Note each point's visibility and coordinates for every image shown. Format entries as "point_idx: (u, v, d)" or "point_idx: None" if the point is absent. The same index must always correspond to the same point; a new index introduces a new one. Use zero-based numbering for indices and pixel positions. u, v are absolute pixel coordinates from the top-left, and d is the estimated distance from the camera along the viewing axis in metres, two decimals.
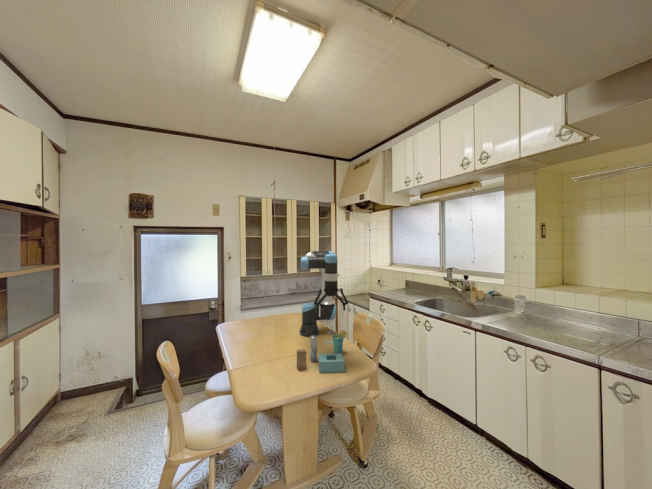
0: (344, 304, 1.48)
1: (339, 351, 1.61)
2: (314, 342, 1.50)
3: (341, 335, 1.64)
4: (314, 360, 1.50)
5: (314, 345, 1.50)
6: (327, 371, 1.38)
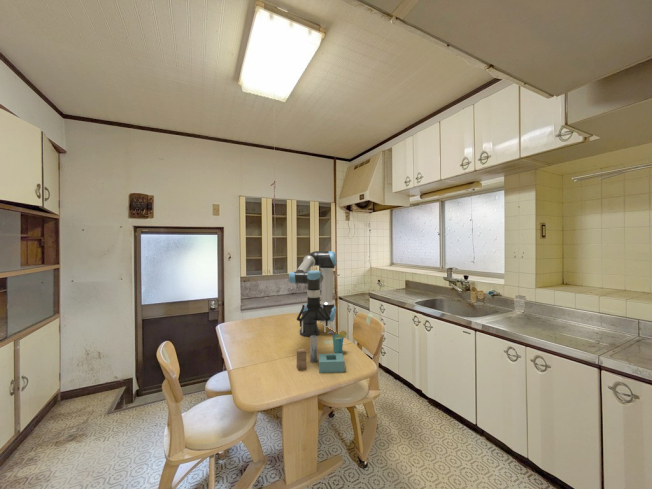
0: (326, 320, 1.50)
1: (339, 351, 1.61)
2: (314, 342, 1.50)
3: (341, 335, 1.64)
4: (314, 360, 1.50)
5: (314, 345, 1.50)
6: (327, 371, 1.38)
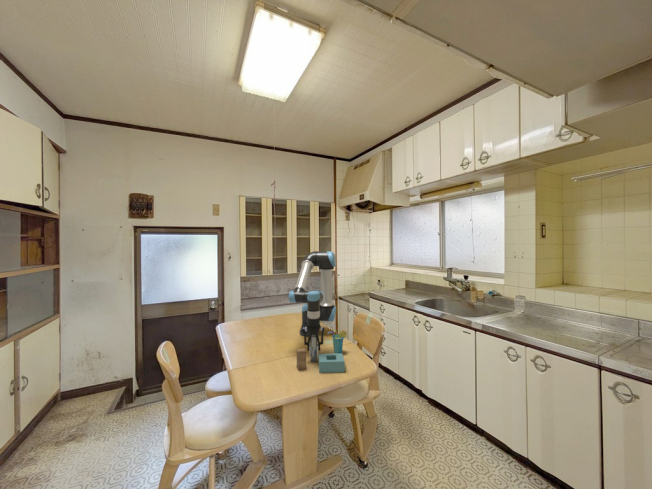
0: (319, 345, 1.50)
1: (339, 351, 1.61)
2: (314, 342, 1.50)
3: (341, 335, 1.64)
4: (314, 360, 1.50)
5: (315, 345, 1.50)
6: (327, 371, 1.38)
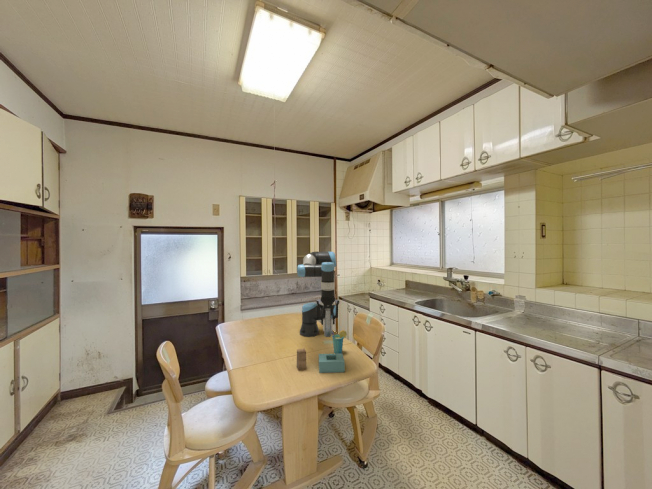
0: (333, 318, 1.43)
1: (339, 351, 1.61)
2: (328, 315, 1.42)
3: (341, 335, 1.64)
4: (328, 334, 1.42)
5: (329, 318, 1.42)
6: (327, 371, 1.38)
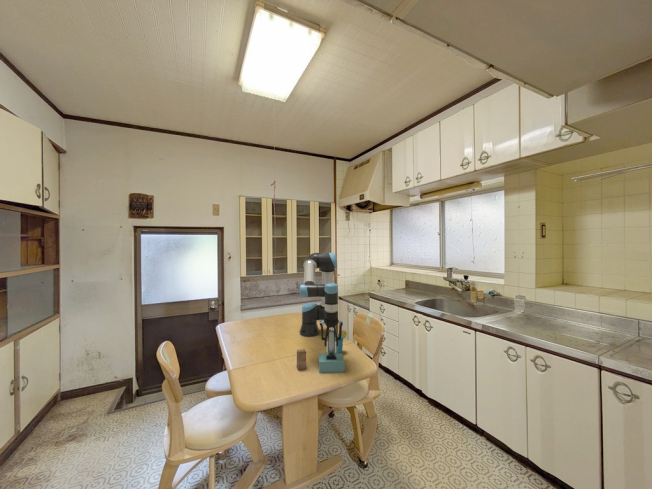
0: (337, 340, 1.42)
1: (339, 351, 1.61)
2: (332, 337, 1.41)
3: (341, 335, 1.64)
4: (332, 356, 1.41)
5: (332, 340, 1.41)
6: (327, 371, 1.38)
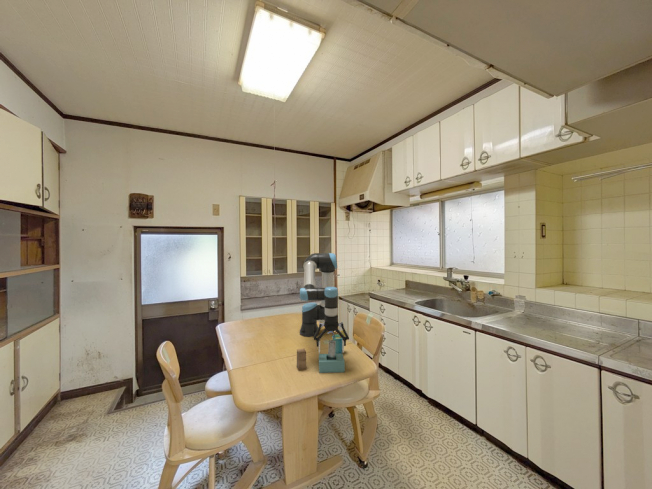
0: (345, 339, 1.42)
1: (339, 351, 1.61)
2: (333, 348, 1.42)
3: None
4: None
5: (333, 351, 1.42)
6: (327, 371, 1.38)
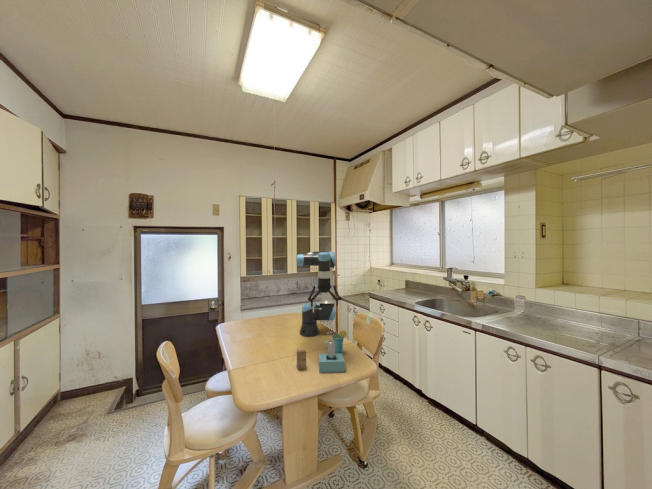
0: (337, 300, 1.54)
1: (339, 351, 1.61)
2: (332, 348, 1.41)
3: (341, 335, 1.64)
4: None
5: (332, 351, 1.41)
6: (327, 371, 1.38)
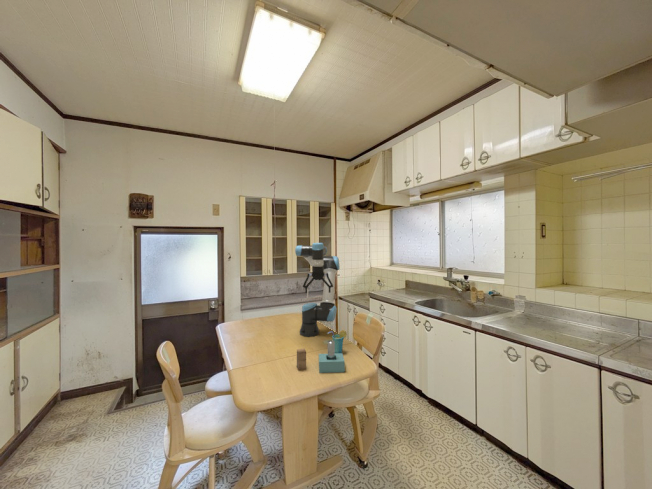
0: (329, 287, 1.66)
1: (339, 351, 1.61)
2: (332, 348, 1.42)
3: (341, 335, 1.64)
4: None
5: (332, 351, 1.42)
6: (327, 371, 1.38)
